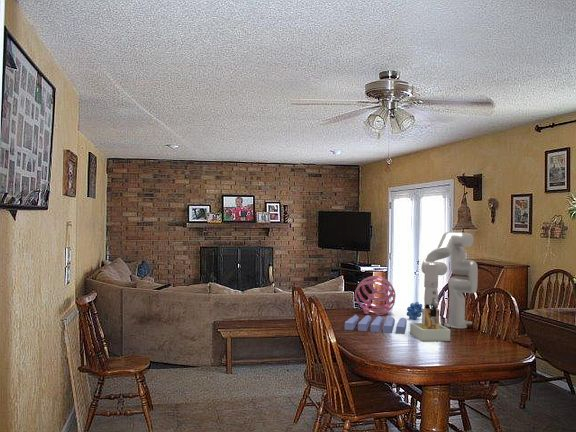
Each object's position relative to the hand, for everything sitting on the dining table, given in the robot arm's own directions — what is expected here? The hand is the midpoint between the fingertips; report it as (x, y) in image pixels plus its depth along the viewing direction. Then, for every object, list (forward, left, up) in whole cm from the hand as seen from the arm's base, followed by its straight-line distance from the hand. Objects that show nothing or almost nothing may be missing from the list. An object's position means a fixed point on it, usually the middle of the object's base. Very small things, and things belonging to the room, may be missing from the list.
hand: (430, 315), depth 319 cm
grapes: (-11, -59, -13) cm, 61 cm away
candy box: (0, 0, -12) cm, 12 cm away
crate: (0, 0, -13) cm, 13 cm away
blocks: (+22, -32, -14) cm, 41 cm away
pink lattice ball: (+10, -79, -13) cm, 81 cm away
